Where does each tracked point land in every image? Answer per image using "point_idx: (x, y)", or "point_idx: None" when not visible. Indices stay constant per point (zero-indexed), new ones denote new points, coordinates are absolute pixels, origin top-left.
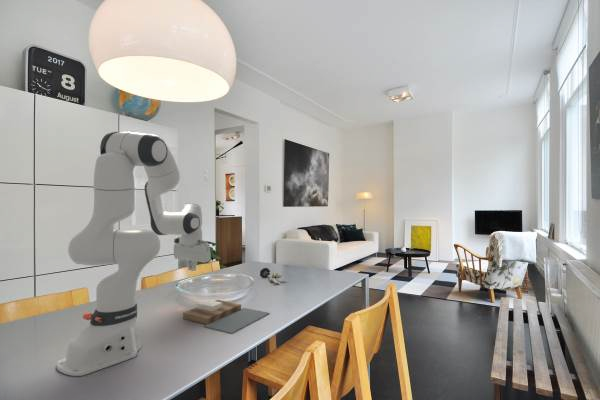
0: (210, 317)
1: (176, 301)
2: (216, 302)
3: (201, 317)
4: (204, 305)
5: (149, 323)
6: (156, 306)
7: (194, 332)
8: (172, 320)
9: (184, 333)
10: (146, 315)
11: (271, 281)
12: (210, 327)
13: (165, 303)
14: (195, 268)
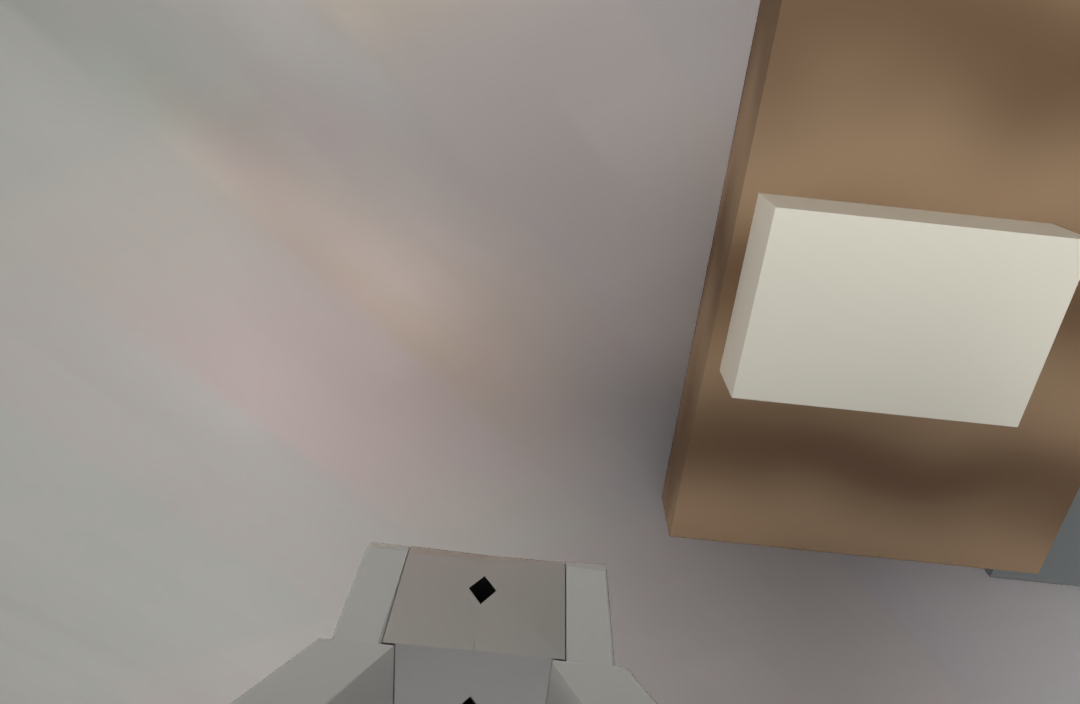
0: (1051, 543)
1: (66, 50)
2: (994, 266)
3: (945, 562)
4: (869, 407)
5: None
6: (56, 317)
7: (960, 666)
8: (591, 552)
9: (889, 698)
10: (250, 543)
11: None
12: (1070, 584)
13: (29, 186)
14: (609, 614)
